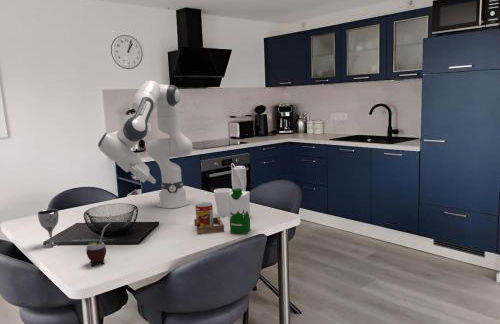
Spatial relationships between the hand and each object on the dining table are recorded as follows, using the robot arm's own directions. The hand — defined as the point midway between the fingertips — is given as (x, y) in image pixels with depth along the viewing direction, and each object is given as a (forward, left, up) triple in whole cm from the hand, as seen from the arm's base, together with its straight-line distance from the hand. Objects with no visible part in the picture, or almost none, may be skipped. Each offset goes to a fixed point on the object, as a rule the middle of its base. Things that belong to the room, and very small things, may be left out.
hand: (155, 182), depth 190 cm
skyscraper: (-12, +40, -24) cm, 49 cm away
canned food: (0, +21, -24) cm, 32 cm away
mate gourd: (+29, -23, -24) cm, 44 cm away
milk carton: (+9, +36, -24) cm, 45 cm away
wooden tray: (0, +22, -24) cm, 33 cm away
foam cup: (-21, +33, -24) cm, 46 cm away
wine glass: (+1, -46, -24) cm, 52 cm away
